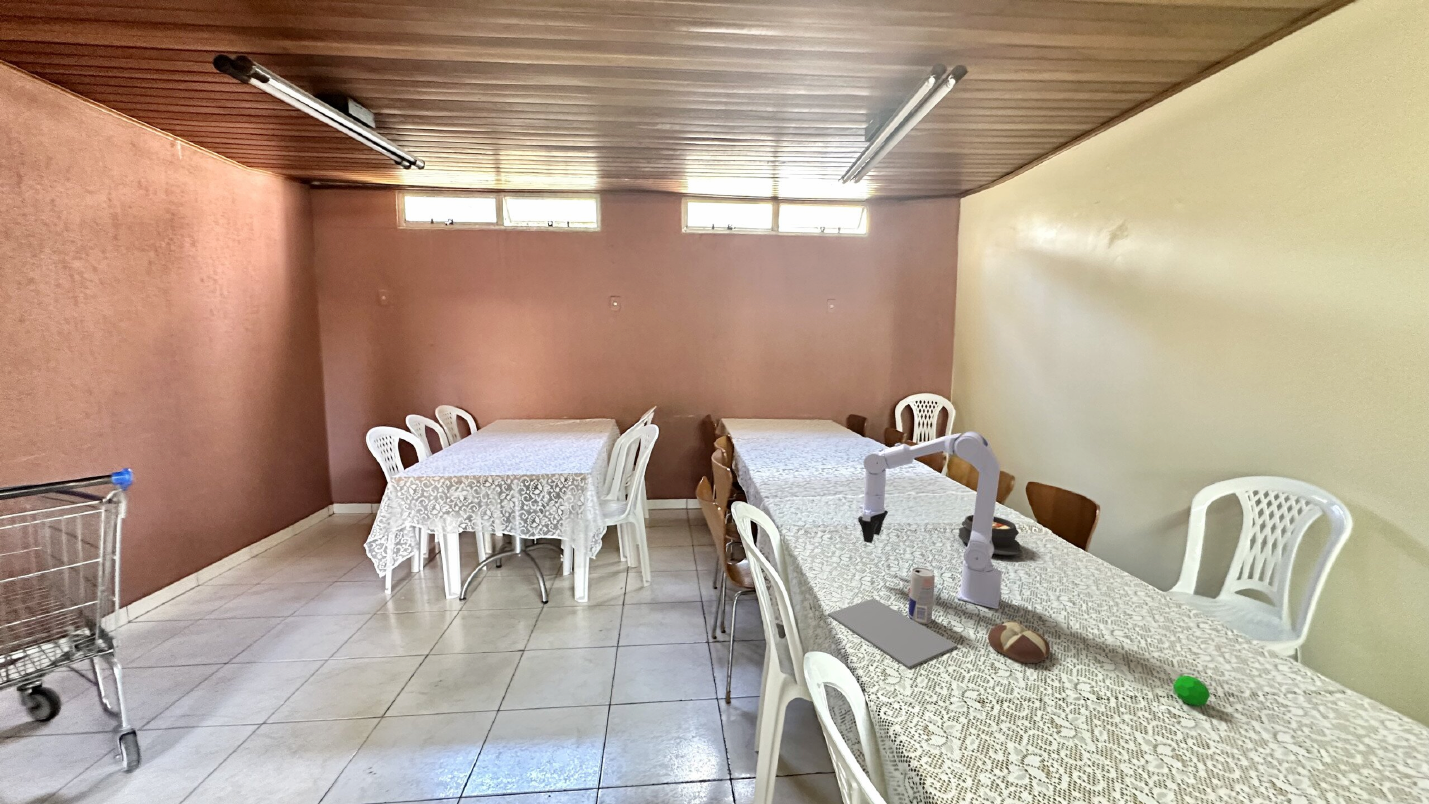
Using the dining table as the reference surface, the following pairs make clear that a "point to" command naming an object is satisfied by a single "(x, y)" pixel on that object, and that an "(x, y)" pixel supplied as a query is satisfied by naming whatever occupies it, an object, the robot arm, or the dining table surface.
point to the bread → (1018, 642)
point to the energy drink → (921, 595)
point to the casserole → (995, 535)
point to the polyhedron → (1191, 690)
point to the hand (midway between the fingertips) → (872, 538)
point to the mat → (892, 632)
